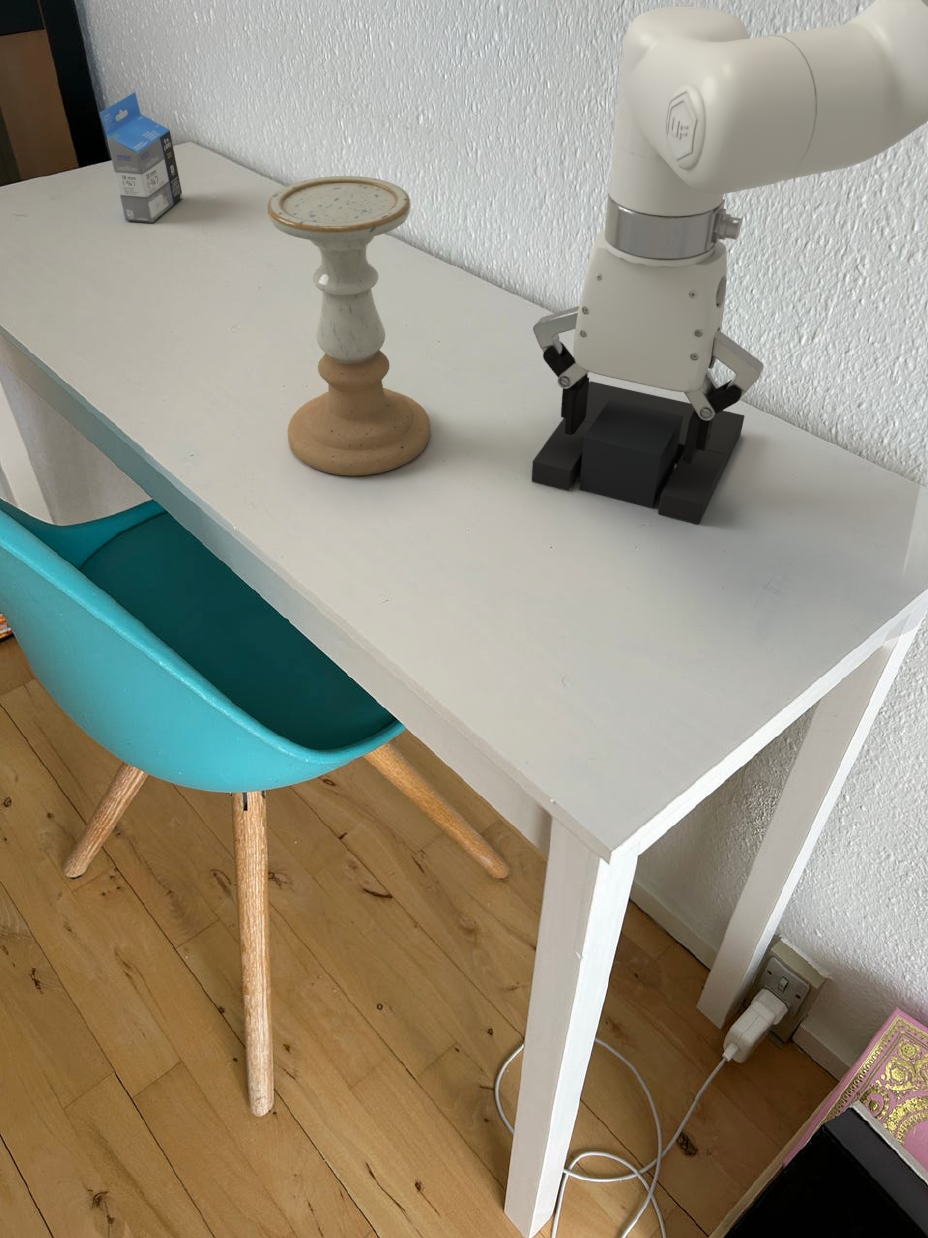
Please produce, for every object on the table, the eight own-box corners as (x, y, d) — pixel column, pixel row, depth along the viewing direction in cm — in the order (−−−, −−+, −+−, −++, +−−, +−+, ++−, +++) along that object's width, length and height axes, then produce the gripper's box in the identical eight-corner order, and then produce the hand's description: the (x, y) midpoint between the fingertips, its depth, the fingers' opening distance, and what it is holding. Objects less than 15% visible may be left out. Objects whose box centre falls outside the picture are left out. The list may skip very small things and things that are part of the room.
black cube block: (674, 467, 81) (683, 415, 78) (652, 508, 77) (661, 455, 74) (603, 450, 83) (609, 398, 80) (578, 489, 79) (583, 436, 76)
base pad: (740, 434, 85) (745, 414, 83) (698, 525, 76) (703, 504, 74) (588, 400, 89) (590, 380, 88) (531, 481, 80) (532, 460, 79)
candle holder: (275, 474, 81) (234, 230, 67) (303, 397, 90) (273, 168, 76) (423, 480, 80) (413, 235, 66) (437, 402, 89) (431, 171, 75)
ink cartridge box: (153, 224, 119) (129, 115, 111) (124, 221, 120) (98, 112, 112) (184, 197, 126) (164, 92, 117) (156, 195, 126) (134, 90, 118)
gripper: (801, 224, 66) (751, 441, 78) (560, 186, 71) (547, 394, 83) (778, 267, 61) (728, 492, 73) (521, 223, 66) (513, 439, 78)
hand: (632, 439), depth 78 cm, fingers open, 9 cm apart
